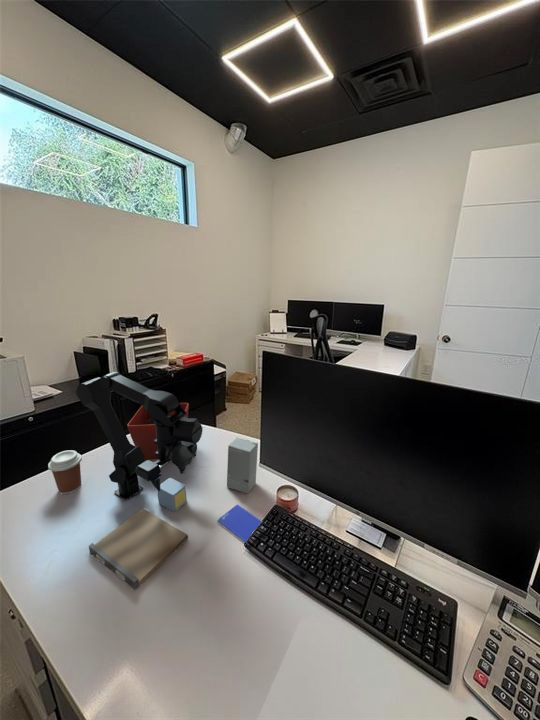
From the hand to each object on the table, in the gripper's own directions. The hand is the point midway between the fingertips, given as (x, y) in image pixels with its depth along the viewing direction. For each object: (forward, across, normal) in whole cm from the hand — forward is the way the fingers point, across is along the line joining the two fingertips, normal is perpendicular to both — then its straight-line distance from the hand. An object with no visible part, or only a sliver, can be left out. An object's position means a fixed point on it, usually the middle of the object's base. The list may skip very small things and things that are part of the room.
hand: (170, 481), depth 91 cm
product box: (+8, 0, 0) cm, 8 cm away
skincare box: (+8, +18, -14) cm, 24 cm away
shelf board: (+7, -15, -5) cm, 18 cm away
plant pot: (+8, +18, +25) cm, 32 cm away
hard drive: (+8, +4, -24) cm, 26 cm away
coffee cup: (+8, -13, +34) cm, 37 cm away
